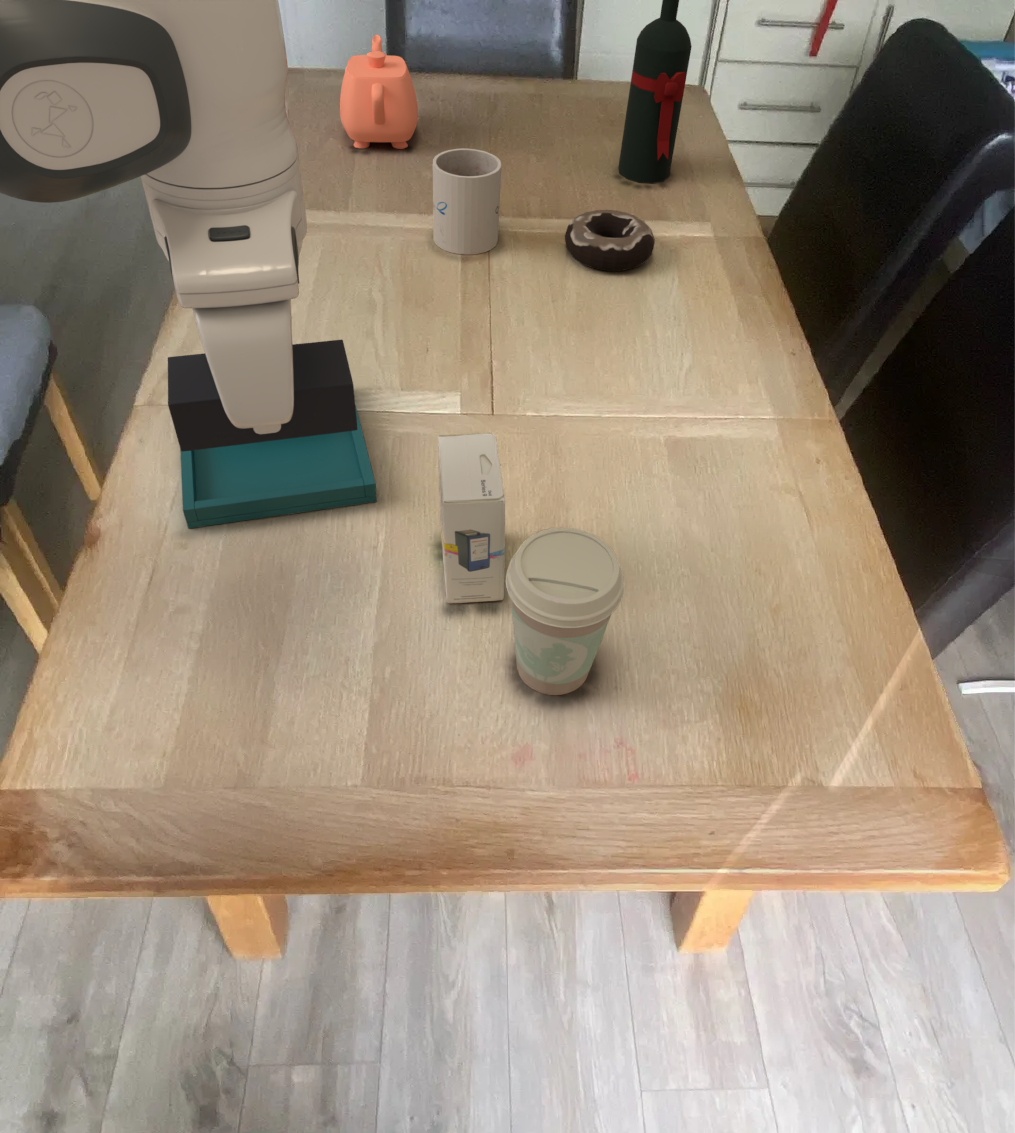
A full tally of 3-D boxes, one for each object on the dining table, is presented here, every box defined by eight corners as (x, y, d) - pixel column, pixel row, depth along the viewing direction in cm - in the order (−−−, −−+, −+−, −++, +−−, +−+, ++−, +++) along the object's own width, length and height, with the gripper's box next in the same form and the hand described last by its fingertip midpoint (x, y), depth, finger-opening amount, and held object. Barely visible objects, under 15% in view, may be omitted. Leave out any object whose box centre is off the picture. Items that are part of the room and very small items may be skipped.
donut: (621, 286, 114) (626, 257, 111) (545, 255, 118) (548, 226, 115) (668, 253, 120) (673, 224, 117) (594, 224, 125) (598, 196, 122)
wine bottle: (632, 191, 132) (669, -50, 111) (610, 162, 139) (641, -71, 117) (682, 188, 134) (728, -51, 112) (658, 159, 141) (697, -71, 119)
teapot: (421, 162, 136) (419, 76, 127) (341, 162, 134) (333, 75, 125) (415, 111, 149) (414, 29, 140) (343, 110, 148) (336, 28, 139)
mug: (496, 256, 117) (500, 179, 110) (430, 252, 117) (429, 175, 110) (499, 213, 126) (503, 139, 118) (437, 209, 126) (437, 135, 118)
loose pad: (181, 452, 61) (167, 404, 58) (180, 403, 65) (167, 356, 62) (357, 430, 64) (353, 383, 61) (347, 385, 67) (342, 338, 64)
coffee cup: (477, 666, 72) (481, 563, 63) (547, 608, 77) (560, 505, 68) (558, 730, 68) (574, 630, 60) (627, 666, 73) (651, 564, 64)
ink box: (503, 602, 77) (511, 500, 68) (442, 605, 76) (442, 502, 68) (493, 531, 83) (499, 429, 74) (437, 534, 82) (436, 430, 73)
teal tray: (188, 529, 81) (182, 510, 79) (182, 408, 93) (177, 389, 91) (376, 501, 85) (375, 483, 83) (348, 389, 96) (347, 371, 95)
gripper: (170, 135, 59) (211, 321, 69) (173, 299, 46) (223, 499, 56) (269, 130, 60) (295, 313, 71) (299, 288, 47) (326, 486, 57)
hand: (263, 397), depth 63 cm, fingers closed on loose pad, 5 cm apart
